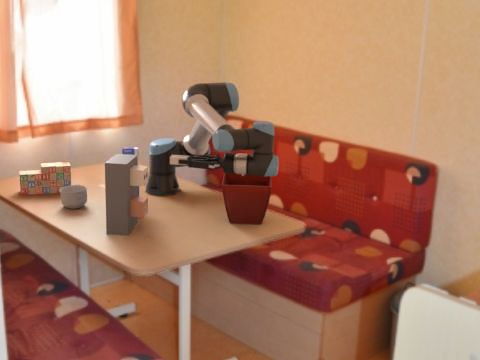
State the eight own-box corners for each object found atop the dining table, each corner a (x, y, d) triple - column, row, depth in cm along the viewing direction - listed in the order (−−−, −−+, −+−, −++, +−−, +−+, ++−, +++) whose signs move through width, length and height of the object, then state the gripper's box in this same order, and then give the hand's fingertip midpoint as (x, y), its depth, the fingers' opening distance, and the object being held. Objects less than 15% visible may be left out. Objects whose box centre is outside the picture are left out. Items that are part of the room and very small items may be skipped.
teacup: (80, 212, 258) (79, 193, 256) (55, 209, 260) (54, 190, 258) (94, 201, 271) (94, 183, 269) (71, 199, 273) (70, 181, 271)
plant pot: (223, 210, 266) (224, 171, 262) (269, 212, 266) (271, 173, 261) (220, 226, 248) (221, 184, 243) (269, 228, 248) (271, 186, 243)
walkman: (122, 171, 317) (122, 148, 314) (122, 170, 320) (122, 147, 317) (138, 171, 319) (138, 148, 316) (138, 170, 322) (138, 146, 318)
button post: (138, 222, 248) (137, 155, 241) (127, 235, 235) (126, 164, 227) (118, 221, 249) (116, 153, 242) (106, 233, 236) (104, 162, 228)
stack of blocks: (20, 195, 276) (18, 167, 273) (20, 191, 282) (18, 164, 279) (71, 192, 283) (70, 165, 280) (70, 188, 289) (69, 161, 285)
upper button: (148, 181, 239) (148, 166, 237) (143, 186, 233) (143, 170, 232) (126, 180, 240) (126, 164, 238) (122, 184, 234) (121, 169, 232)
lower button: (148, 212, 242) (148, 197, 241) (144, 217, 237) (143, 202, 235) (127, 210, 243) (127, 195, 242) (122, 215, 237) (122, 200, 236)
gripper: (232, 179, 224) (166, 174, 226) (237, 168, 238) (175, 164, 240) (232, 158, 222) (166, 154, 224) (238, 148, 236) (175, 144, 238)
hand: (171, 159), depth 232 cm, fingers closed
